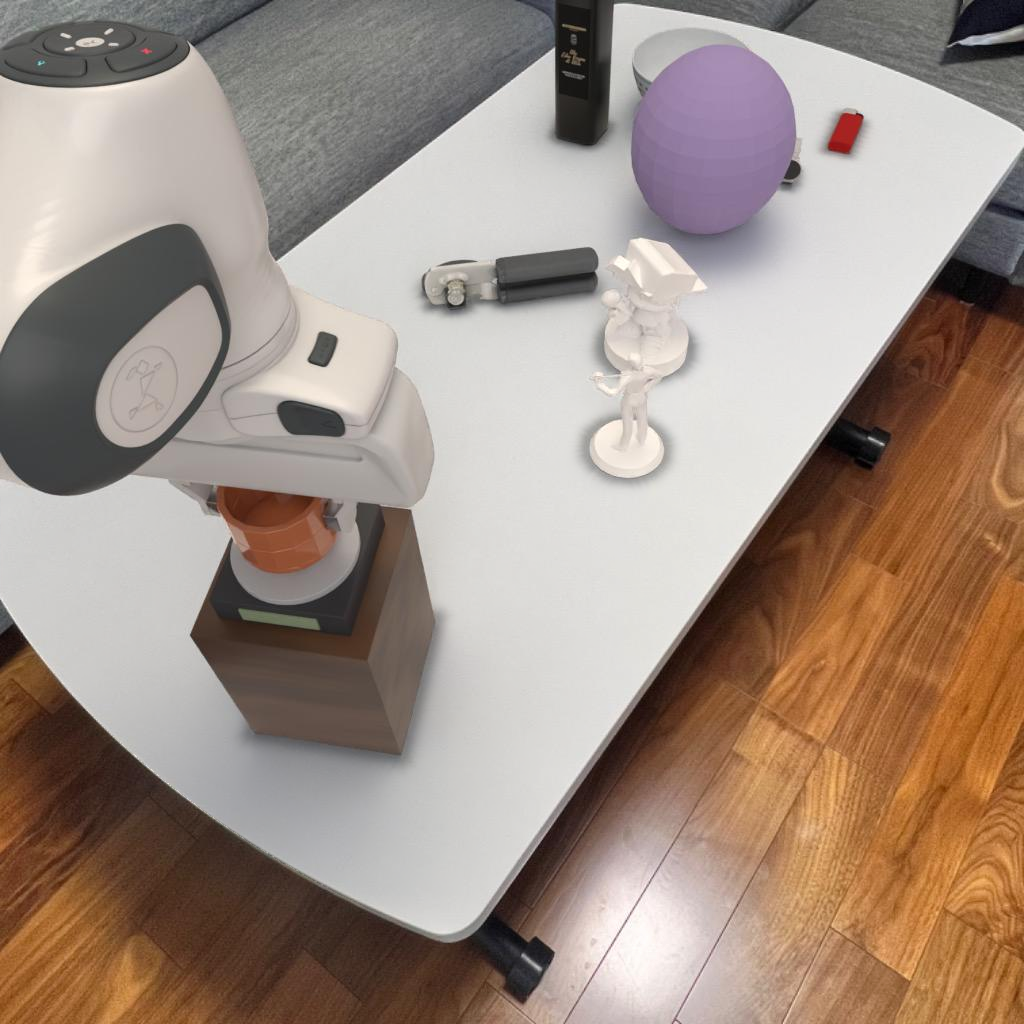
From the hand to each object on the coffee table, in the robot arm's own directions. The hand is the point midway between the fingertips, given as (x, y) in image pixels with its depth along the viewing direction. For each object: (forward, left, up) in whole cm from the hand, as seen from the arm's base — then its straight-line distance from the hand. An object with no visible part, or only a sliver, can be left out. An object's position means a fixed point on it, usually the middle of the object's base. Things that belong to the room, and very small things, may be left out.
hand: (282, 515), depth 58 cm
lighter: (+82, -42, -22) cm, 95 cm away
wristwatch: (+72, -35, -22) cm, 83 cm away
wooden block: (0, 0, -22) cm, 22 cm away
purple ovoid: (+62, -25, -22) cm, 71 cm away
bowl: (0, 0, -2) cm, 2 cm away
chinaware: (+84, -22, -22) cm, 90 cm away
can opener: (+48, -5, -22) cm, 53 cm away
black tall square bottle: (+79, -9, -22) cm, 83 cm away
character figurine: (+41, -21, -22) cm, 51 cm away
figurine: (+27, -20, -22) cm, 40 cm away
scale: (0, 0, -6) cm, 6 cm away
